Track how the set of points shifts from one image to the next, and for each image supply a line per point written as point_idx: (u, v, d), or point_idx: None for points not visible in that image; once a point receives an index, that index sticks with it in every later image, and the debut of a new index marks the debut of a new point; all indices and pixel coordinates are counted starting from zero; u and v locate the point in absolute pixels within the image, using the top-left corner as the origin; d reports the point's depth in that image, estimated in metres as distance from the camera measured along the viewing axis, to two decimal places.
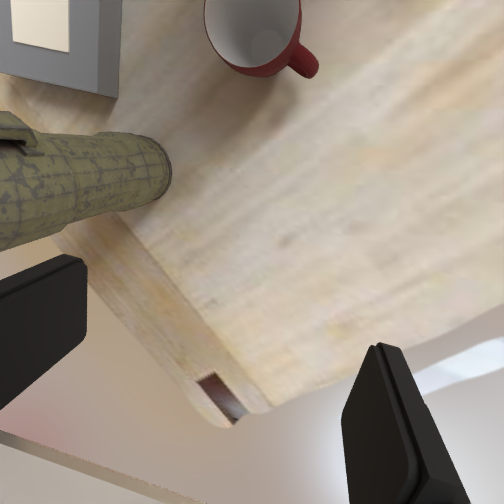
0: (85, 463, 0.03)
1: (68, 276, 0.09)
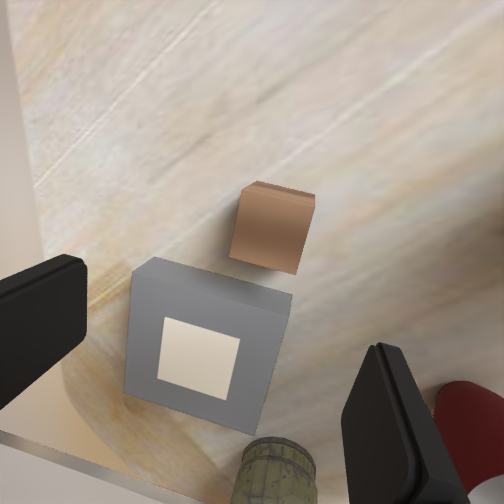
0: (85, 463, 0.03)
1: (68, 276, 0.09)
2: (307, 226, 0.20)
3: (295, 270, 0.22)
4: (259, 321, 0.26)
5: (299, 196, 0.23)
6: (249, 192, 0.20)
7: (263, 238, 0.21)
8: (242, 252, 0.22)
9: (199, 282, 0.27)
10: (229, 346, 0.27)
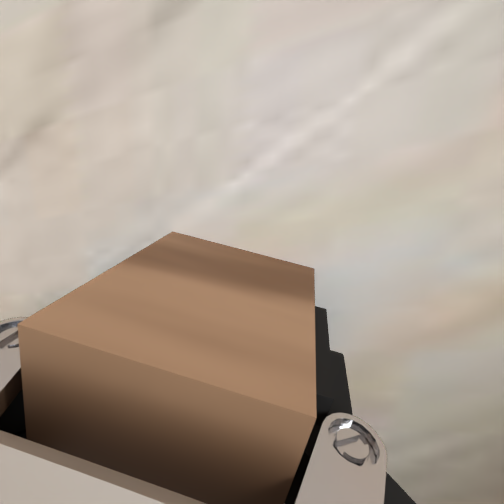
0: (85, 463, 0.03)
1: None
2: (285, 476, 0.05)
3: None
4: None
5: (267, 302, 0.07)
6: (47, 336, 0.05)
7: None
8: None
9: None
10: None
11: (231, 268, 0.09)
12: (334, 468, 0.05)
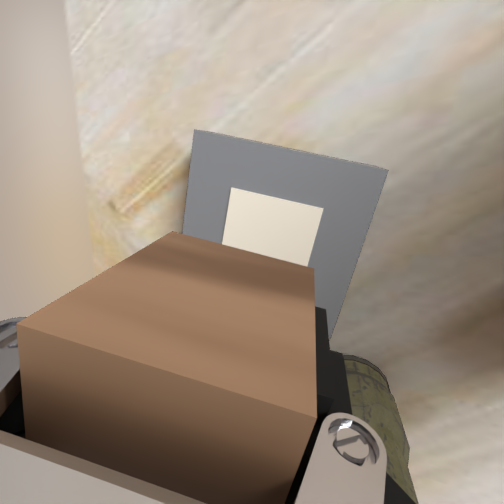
0: (85, 463, 0.03)
1: None
2: (285, 476, 0.05)
3: None
4: (350, 180, 0.21)
5: (267, 302, 0.07)
6: (47, 336, 0.05)
7: None
8: None
9: (272, 145, 0.23)
10: (310, 218, 0.23)
11: (231, 268, 0.09)
12: (334, 468, 0.05)
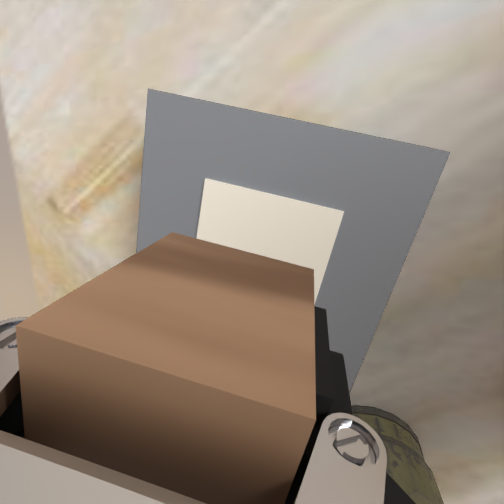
0: (85, 463, 0.03)
1: None
2: (285, 478, 0.05)
3: None
4: (387, 168, 0.14)
5: (266, 303, 0.07)
6: (46, 338, 0.05)
7: None
8: None
9: None
10: (323, 226, 0.15)
11: (230, 269, 0.09)
12: (334, 468, 0.05)
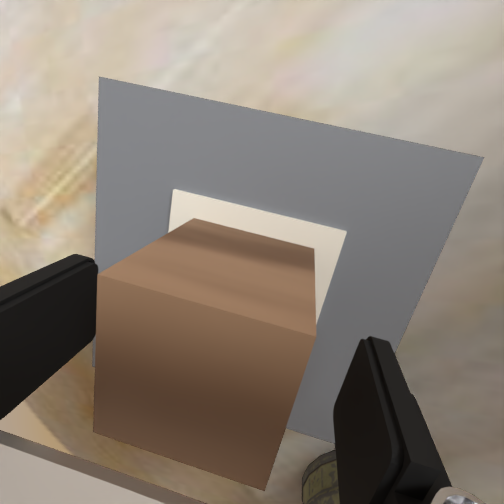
0: (85, 463, 0.03)
1: (80, 276, 0.09)
2: (293, 384, 0.07)
3: (263, 481, 0.08)
4: (402, 178, 0.11)
5: (276, 269, 0.09)
6: (120, 283, 0.07)
7: (173, 400, 0.08)
8: (124, 426, 0.08)
9: None
10: (320, 249, 0.12)
11: (246, 246, 0.11)
12: None
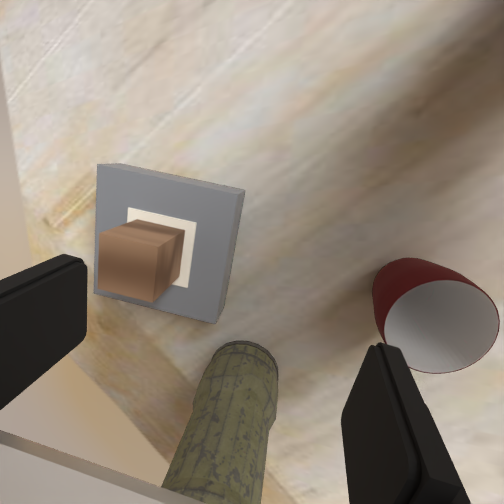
0: (85, 463, 0.03)
1: (68, 276, 0.09)
2: (154, 262, 0.24)
3: (151, 298, 0.26)
4: (212, 202, 0.29)
5: (160, 234, 0.27)
6: (105, 235, 0.24)
7: (122, 272, 0.25)
8: (107, 284, 0.26)
9: (159, 175, 0.30)
10: (187, 230, 0.30)
11: (153, 228, 0.28)
12: None
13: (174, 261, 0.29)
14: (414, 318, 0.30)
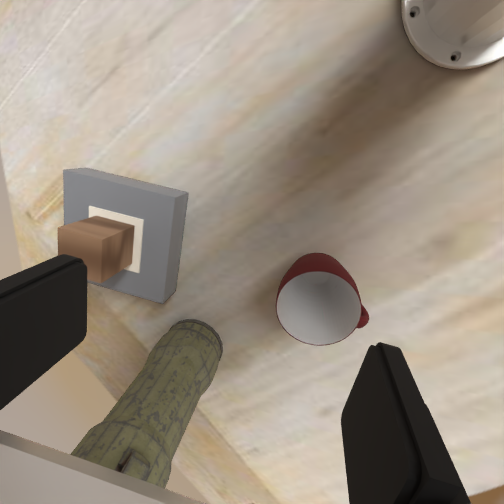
0: (85, 463, 0.03)
1: (68, 276, 0.09)
2: (100, 251, 0.31)
3: (100, 280, 0.32)
4: (155, 203, 0.35)
5: (109, 229, 0.33)
6: (62, 229, 0.31)
7: None
8: None
9: (114, 179, 0.36)
10: (136, 225, 0.36)
11: (107, 223, 0.35)
12: None
13: (124, 251, 0.35)
14: (322, 303, 0.36)
